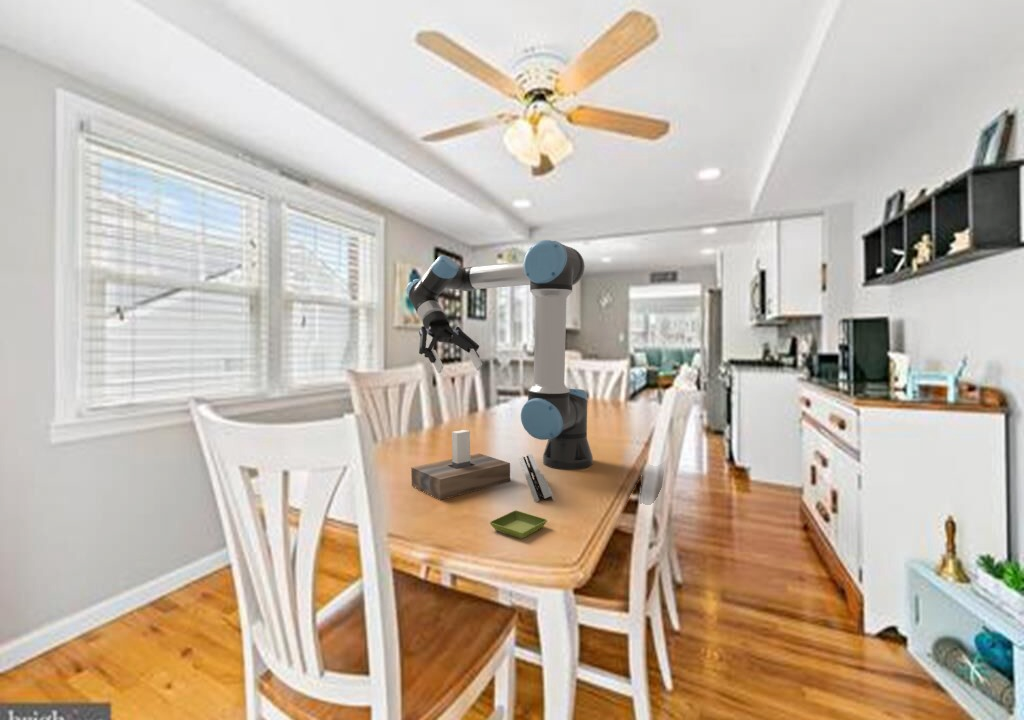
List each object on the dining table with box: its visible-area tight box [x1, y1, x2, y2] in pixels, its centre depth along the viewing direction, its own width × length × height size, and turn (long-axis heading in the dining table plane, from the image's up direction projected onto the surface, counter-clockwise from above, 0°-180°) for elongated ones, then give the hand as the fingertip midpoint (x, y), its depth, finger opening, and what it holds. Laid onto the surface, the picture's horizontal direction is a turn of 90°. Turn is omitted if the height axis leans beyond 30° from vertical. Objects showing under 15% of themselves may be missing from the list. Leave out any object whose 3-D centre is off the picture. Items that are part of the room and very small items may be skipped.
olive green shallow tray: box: [489, 510, 548, 539], centre depth 97 cm, size 9×9×2 cm
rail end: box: [451, 429, 471, 469], centre depth 127 cm, size 2×4×13 cm, turn 130°
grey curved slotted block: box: [518, 453, 556, 503], centre depth 121 cm, size 17×5×10 cm, turn 4°
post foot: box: [410, 453, 511, 500], centre depth 127 cm, size 14×22×5 cm, turn 130°
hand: (461, 368), depth 140 cm, fingers open, 13 cm apart
